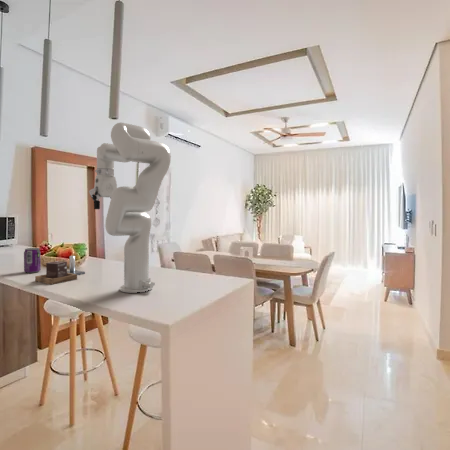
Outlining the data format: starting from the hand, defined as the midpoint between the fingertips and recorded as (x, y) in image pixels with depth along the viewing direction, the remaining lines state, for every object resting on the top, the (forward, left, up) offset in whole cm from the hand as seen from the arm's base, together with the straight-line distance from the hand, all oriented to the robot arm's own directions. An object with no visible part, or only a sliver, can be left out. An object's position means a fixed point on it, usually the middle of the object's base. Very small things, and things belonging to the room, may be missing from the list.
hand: (105, 209), depth 146 cm
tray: (+12, +17, -32) cm, 38 cm away
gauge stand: (+18, +5, -32) cm, 37 cm away
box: (+12, +17, -32) cm, 38 cm away
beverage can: (+39, +13, -32) cm, 52 cm away
